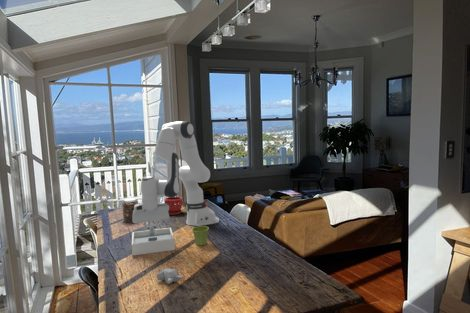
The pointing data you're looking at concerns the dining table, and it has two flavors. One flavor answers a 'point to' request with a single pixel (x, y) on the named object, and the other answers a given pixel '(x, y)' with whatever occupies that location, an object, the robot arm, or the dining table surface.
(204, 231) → the plant pot
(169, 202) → the plant pot
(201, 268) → the dining table surface
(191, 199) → the robot arm
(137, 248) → the box
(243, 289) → the dining table surface
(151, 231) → the peg
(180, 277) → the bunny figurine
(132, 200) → the jar
